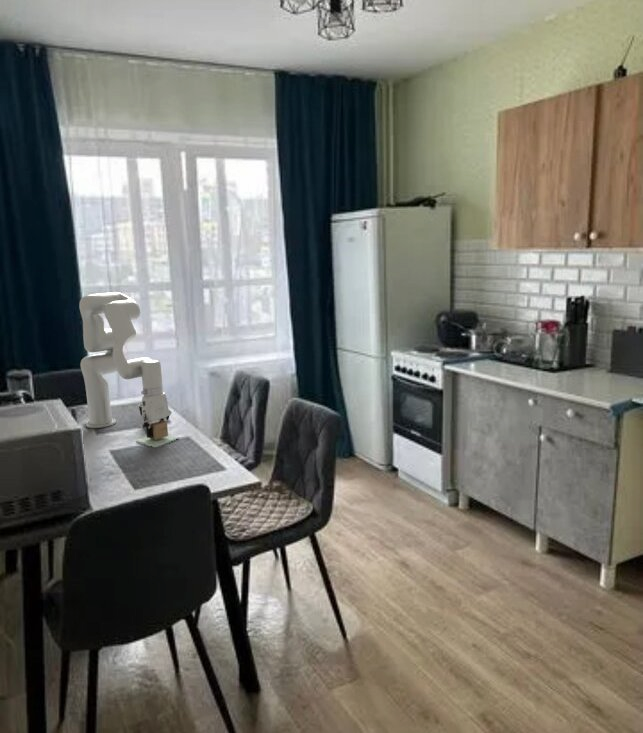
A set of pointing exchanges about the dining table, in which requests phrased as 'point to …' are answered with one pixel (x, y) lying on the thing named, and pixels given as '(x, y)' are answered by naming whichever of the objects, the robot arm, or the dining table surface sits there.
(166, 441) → the green tile
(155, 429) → the walnut cube
